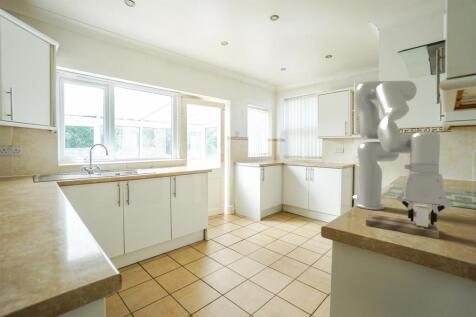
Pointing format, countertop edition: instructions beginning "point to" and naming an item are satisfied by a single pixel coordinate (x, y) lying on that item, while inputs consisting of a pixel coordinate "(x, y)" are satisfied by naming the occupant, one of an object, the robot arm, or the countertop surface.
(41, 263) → the countertop surface
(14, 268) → the countertop surface
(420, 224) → the fader tab
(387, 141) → the robot arm
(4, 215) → the countertop surface
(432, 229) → the fader board
